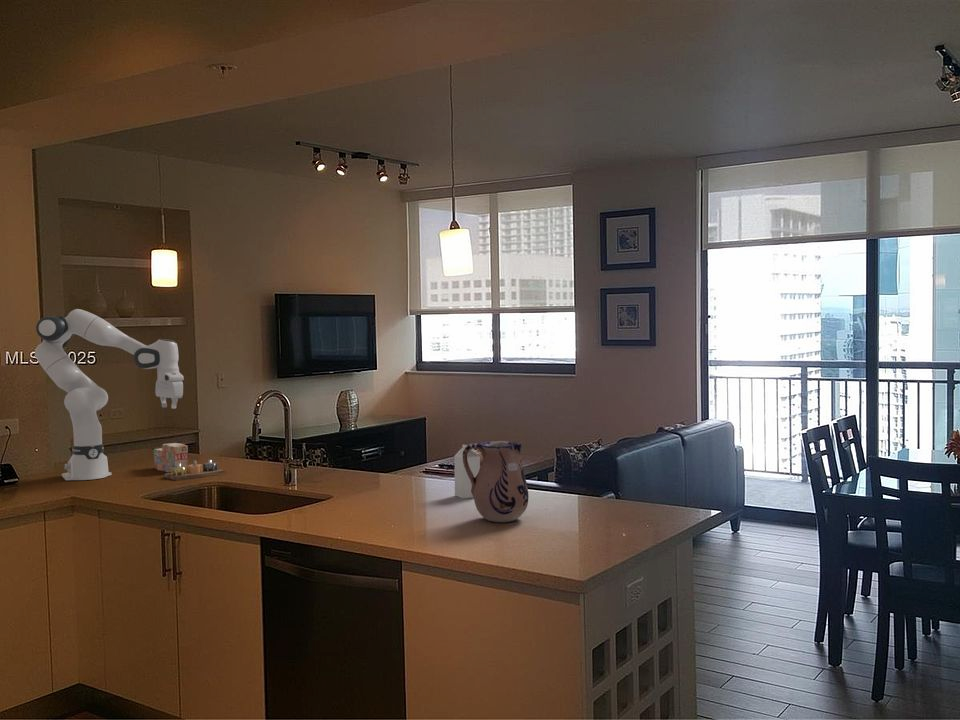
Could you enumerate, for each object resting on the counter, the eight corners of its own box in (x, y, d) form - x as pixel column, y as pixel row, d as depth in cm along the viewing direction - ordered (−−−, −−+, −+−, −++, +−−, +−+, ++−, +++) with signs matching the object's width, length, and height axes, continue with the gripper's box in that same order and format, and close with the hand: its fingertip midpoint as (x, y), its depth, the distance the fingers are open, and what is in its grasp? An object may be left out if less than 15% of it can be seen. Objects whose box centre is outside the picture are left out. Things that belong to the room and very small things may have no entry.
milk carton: (463, 499, 308) (462, 447, 307) (454, 495, 314) (454, 445, 314) (480, 497, 311) (479, 445, 311) (471, 494, 318) (471, 443, 317)
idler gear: (184, 472, 365) (184, 465, 365) (198, 470, 370) (198, 463, 370) (191, 473, 361) (191, 466, 361) (205, 472, 365) (204, 465, 365)
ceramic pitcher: (532, 525, 266) (531, 445, 265) (465, 527, 264) (464, 447, 263) (524, 513, 283) (524, 438, 282) (462, 515, 282) (461, 440, 281)
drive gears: (168, 474, 361) (168, 463, 360) (213, 468, 375) (213, 458, 374) (175, 476, 356) (175, 465, 356) (220, 470, 370) (220, 459, 370)
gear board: (164, 477, 362) (163, 462, 362) (212, 470, 377) (212, 456, 377) (176, 480, 353) (176, 465, 353) (225, 474, 369) (225, 459, 368)
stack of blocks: (153, 469, 385) (153, 442, 385) (167, 467, 390) (166, 440, 389) (174, 474, 370) (174, 446, 370) (188, 472, 374) (187, 444, 374)
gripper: (151, 375, 373) (152, 407, 373) (171, 377, 358) (172, 409, 359) (165, 375, 377) (166, 406, 378) (185, 376, 363) (186, 408, 363)
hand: (169, 407), depth 368 cm, fingers open, 8 cm apart
